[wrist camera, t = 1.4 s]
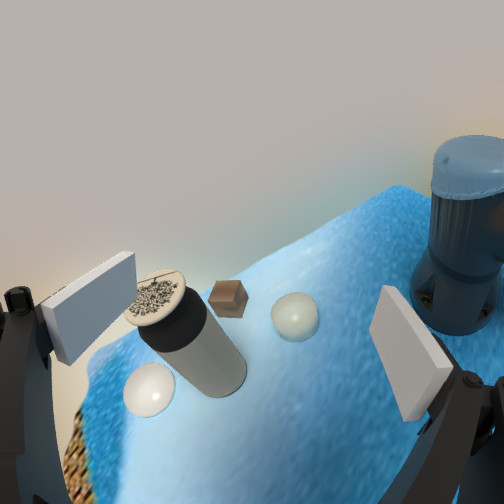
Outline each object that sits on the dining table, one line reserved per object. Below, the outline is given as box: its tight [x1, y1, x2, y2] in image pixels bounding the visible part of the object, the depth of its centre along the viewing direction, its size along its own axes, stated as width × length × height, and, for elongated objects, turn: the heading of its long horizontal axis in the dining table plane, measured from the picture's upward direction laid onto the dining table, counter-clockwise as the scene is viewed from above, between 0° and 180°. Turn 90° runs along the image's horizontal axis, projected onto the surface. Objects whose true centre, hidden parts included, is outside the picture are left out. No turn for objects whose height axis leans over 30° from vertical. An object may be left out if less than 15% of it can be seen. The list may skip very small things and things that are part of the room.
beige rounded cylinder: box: [271, 293, 319, 342], centre depth 39 cm, size 6×6×4 cm
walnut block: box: [208, 280, 249, 318], centre depth 45 cm, size 4×4×4 cm
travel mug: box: [124, 269, 247, 397], centre depth 32 cm, size 8×8×18 cm
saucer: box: [124, 362, 175, 418], centre depth 37 cm, size 10×10×1 cm
